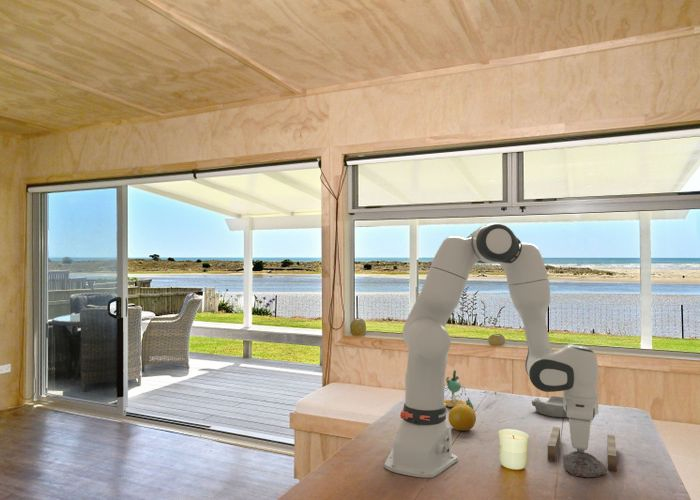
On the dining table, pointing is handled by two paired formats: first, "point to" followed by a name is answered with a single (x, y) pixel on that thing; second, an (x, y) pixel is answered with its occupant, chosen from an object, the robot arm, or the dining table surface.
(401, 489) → the dining table surface
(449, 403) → the green and yellow piece
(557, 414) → the dish
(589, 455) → the rock
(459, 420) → the fruit
